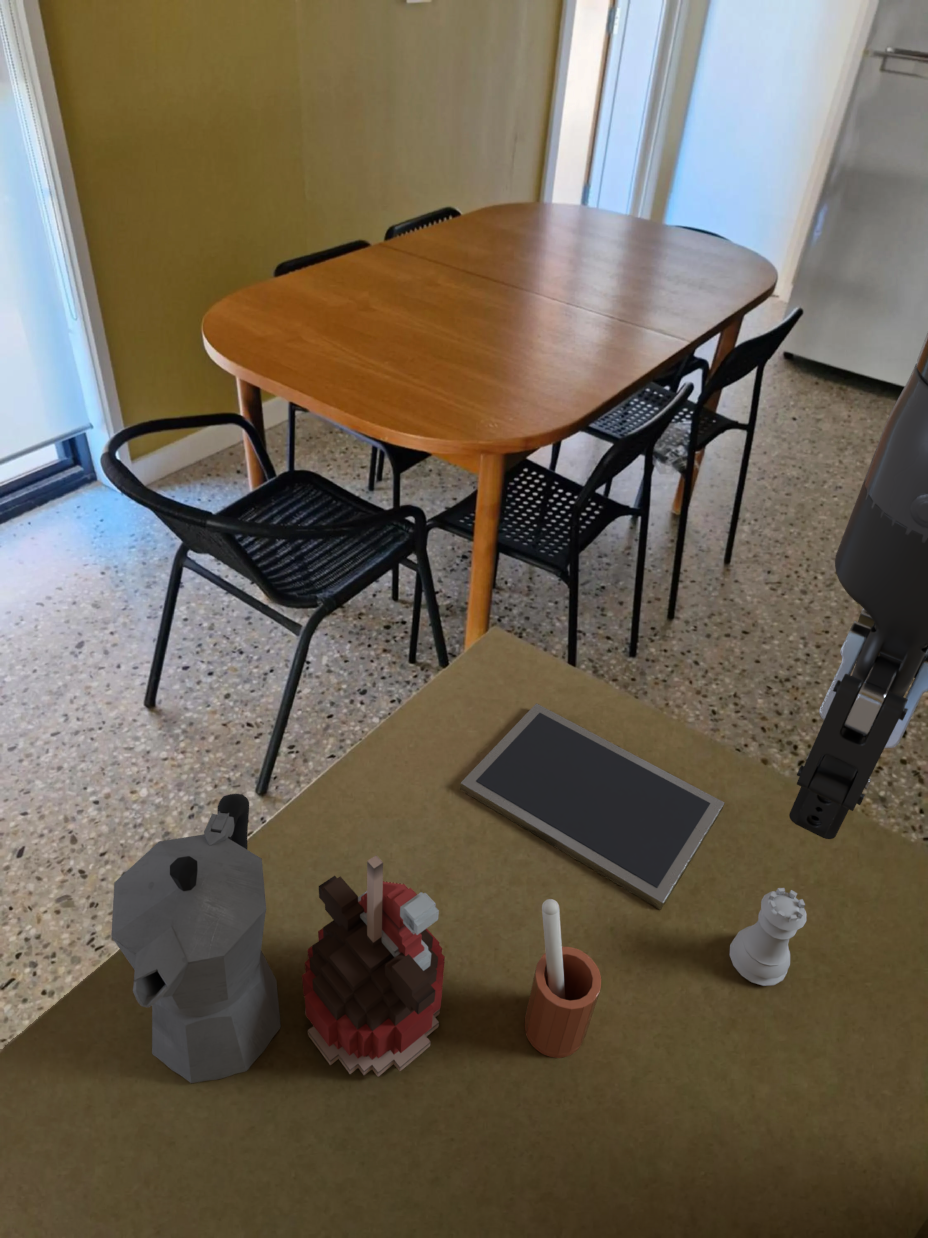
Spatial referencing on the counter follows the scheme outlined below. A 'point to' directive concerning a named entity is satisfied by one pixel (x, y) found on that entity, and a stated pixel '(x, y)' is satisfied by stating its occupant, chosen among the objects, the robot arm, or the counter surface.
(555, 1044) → the pen cup
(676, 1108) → the counter surface
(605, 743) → the tablet
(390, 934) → the cake
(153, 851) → the coffeepot
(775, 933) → the rook chess piece
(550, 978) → the stylus
